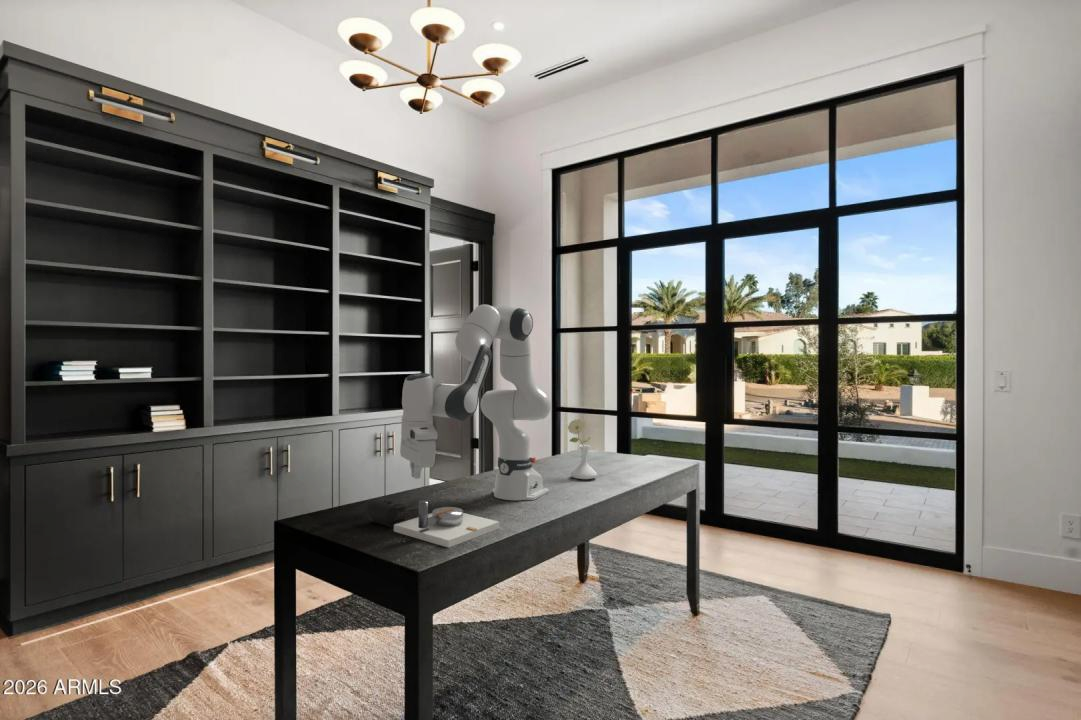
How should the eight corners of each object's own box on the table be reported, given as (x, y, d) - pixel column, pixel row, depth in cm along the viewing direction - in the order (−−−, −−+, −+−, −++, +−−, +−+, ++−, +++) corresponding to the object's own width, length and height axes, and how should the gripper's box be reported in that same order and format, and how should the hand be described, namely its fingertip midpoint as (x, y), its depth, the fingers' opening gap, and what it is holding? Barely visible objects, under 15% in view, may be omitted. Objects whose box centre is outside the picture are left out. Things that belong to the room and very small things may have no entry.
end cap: (365, 524, 181) (366, 502, 181) (385, 518, 187) (385, 497, 186) (386, 531, 175) (387, 508, 175) (405, 525, 181) (406, 503, 180)
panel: (446, 514, 192) (446, 507, 192) (499, 528, 180) (499, 520, 180) (393, 531, 174) (393, 523, 174) (448, 547, 162) (448, 538, 162)
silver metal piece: (447, 515, 183) (447, 489, 183) (469, 520, 178) (469, 494, 178) (408, 527, 170) (409, 499, 170) (430, 533, 165) (431, 505, 165)
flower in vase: (597, 476, 255) (599, 418, 254) (596, 482, 244) (598, 421, 243) (567, 474, 257) (569, 416, 256) (564, 480, 246) (566, 420, 245)
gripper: (395, 425, 178) (394, 471, 179) (417, 435, 161) (416, 485, 161) (415, 425, 182) (414, 470, 182) (439, 434, 164) (438, 483, 164)
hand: (415, 477), depth 171 cm, fingers closed
